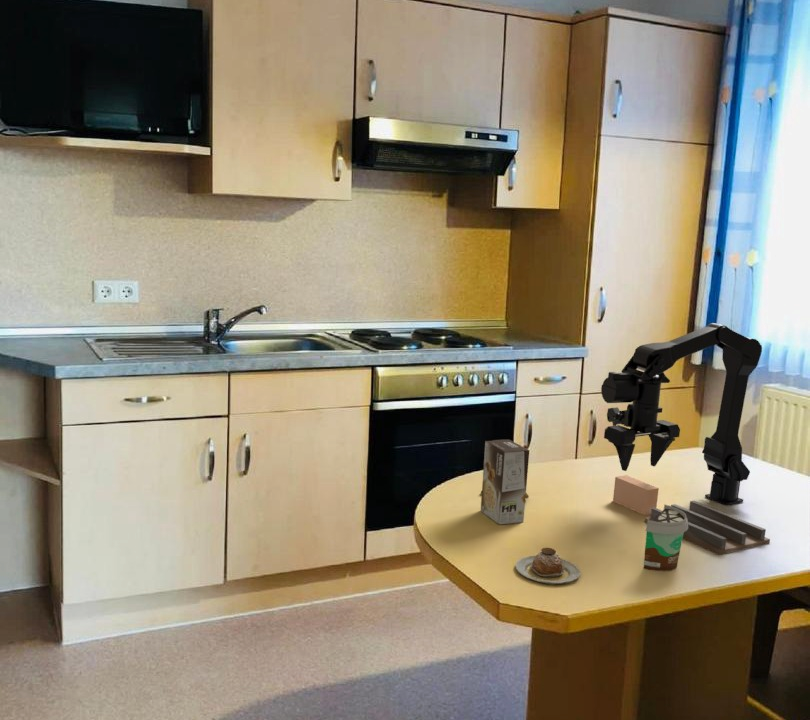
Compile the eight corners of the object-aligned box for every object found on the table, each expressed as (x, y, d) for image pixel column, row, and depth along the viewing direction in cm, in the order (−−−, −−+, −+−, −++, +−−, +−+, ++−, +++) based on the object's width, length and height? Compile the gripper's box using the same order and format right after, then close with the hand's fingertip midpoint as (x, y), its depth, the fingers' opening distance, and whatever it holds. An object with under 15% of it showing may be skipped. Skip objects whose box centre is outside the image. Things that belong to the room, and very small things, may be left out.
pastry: (572, 562, 170) (574, 539, 169) (586, 589, 158) (589, 565, 157) (510, 559, 170) (512, 537, 169) (520, 586, 158) (522, 562, 157)
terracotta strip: (623, 499, 208) (626, 475, 207) (655, 513, 200) (658, 488, 199) (612, 501, 206) (615, 476, 205) (644, 515, 198) (647, 490, 197)
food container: (673, 579, 164) (679, 528, 162) (641, 570, 167) (646, 520, 165) (690, 559, 174) (696, 510, 172) (659, 551, 177) (665, 503, 175)
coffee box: (525, 522, 189) (531, 450, 186) (498, 525, 186) (504, 452, 183) (503, 507, 197) (509, 438, 194) (478, 510, 194) (484, 440, 192)
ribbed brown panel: (694, 511, 202) (695, 499, 201) (769, 542, 185) (771, 529, 185) (644, 521, 194) (646, 508, 193) (718, 554, 177) (720, 540, 176)
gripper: (648, 391, 210) (641, 454, 213) (590, 396, 200) (583, 462, 203) (684, 401, 201) (677, 467, 204) (625, 408, 191) (618, 477, 194)
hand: (638, 468), depth 201 cm, fingers open, 9 cm apart
